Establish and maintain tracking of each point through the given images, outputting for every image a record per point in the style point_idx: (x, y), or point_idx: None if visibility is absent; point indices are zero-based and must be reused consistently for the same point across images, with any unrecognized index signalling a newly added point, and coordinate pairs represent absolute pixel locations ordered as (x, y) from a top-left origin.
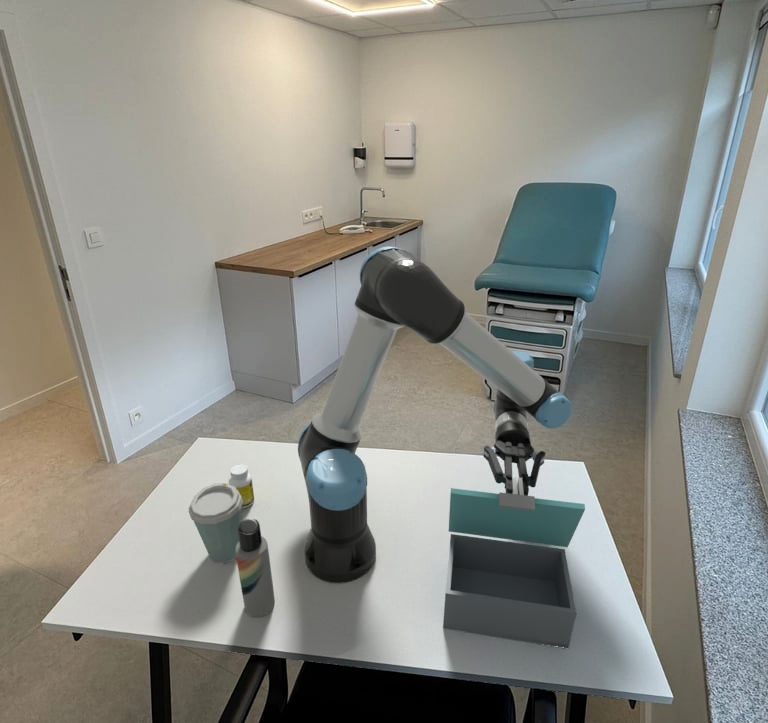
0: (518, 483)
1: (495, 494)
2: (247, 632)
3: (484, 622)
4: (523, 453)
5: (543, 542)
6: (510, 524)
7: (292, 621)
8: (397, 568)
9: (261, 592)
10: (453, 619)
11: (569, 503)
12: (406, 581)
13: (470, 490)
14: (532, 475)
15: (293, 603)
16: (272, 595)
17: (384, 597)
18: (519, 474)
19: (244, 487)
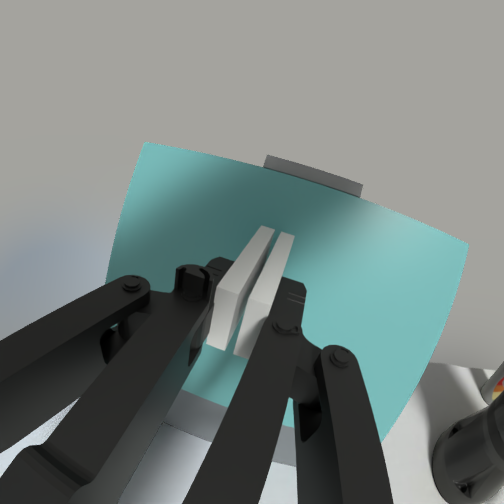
0: (250, 276)
1: (368, 201)
2: (480, 375)
3: None
4: (16, 479)
5: None
6: None
7: (464, 385)
8: (401, 461)
9: (500, 365)
10: None
11: (175, 148)
12: (386, 441)
13: (430, 226)
14: (141, 284)
15: (472, 401)
16: (491, 384)
17: (406, 416)
18: (168, 397)
19: None
